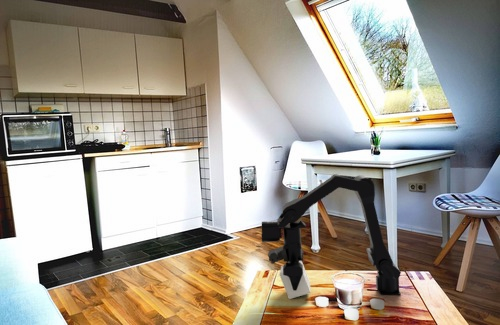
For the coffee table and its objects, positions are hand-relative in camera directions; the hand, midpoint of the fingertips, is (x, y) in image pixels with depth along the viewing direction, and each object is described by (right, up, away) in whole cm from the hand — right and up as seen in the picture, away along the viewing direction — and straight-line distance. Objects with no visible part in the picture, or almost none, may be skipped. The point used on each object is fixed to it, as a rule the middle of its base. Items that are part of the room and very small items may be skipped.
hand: (295, 284), depth 124 cm
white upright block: (+2, -2, 0) cm, 3 cm away
